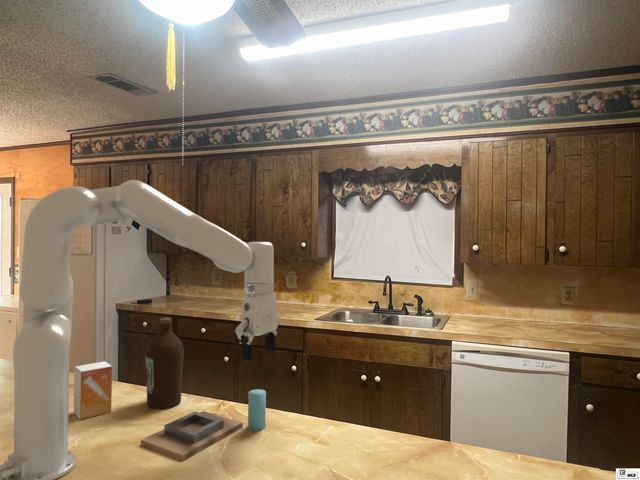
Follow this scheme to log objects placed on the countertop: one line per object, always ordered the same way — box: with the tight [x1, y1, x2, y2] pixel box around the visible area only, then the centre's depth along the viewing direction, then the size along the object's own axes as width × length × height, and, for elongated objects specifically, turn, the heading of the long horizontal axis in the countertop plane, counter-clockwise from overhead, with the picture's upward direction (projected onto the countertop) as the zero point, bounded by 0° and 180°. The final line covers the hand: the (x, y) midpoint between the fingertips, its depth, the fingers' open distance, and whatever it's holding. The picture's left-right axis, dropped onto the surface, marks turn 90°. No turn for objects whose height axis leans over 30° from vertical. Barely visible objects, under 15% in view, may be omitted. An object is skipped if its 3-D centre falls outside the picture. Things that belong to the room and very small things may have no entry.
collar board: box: [140, 410, 244, 462], centre depth 106 cm, size 20×14×3 cm
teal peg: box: [247, 388, 267, 432], centre depth 112 cm, size 4×4×9 cm
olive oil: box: [144, 317, 185, 410], centre depth 126 cm, size 11×11×25 cm
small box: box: [73, 361, 113, 420], centre depth 119 cm, size 8×6×13 cm
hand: (259, 354), depth 112 cm, fingers open, 9 cm apart
